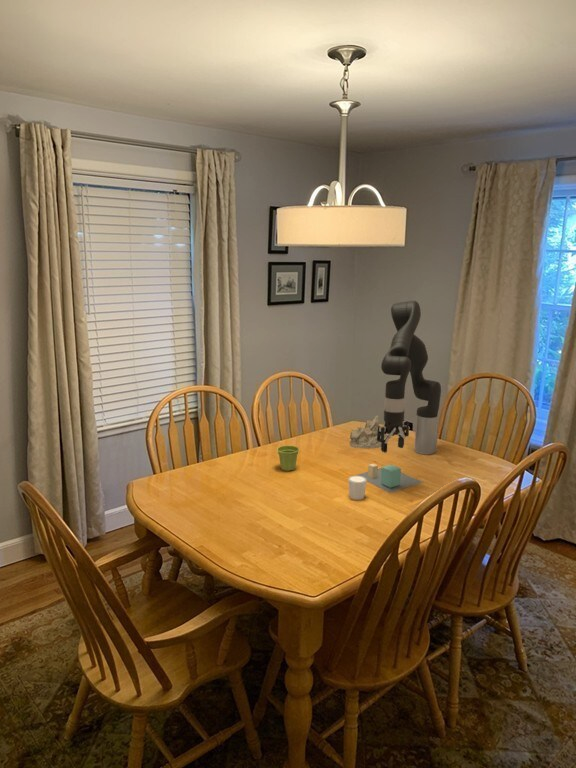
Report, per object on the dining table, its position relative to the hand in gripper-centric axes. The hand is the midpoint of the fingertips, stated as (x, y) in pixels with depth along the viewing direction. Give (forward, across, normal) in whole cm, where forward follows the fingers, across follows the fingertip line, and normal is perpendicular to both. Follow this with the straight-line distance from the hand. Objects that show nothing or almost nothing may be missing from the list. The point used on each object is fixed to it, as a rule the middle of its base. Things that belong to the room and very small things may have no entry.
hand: (392, 449), depth 213 cm
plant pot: (+16, +22, -38) cm, 47 cm away
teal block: (+14, 0, 0) cm, 14 cm away
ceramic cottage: (+16, -28, -45) cm, 55 cm away
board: (+15, -4, -5) cm, 17 cm away
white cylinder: (+16, +16, -1) cm, 23 cm away
